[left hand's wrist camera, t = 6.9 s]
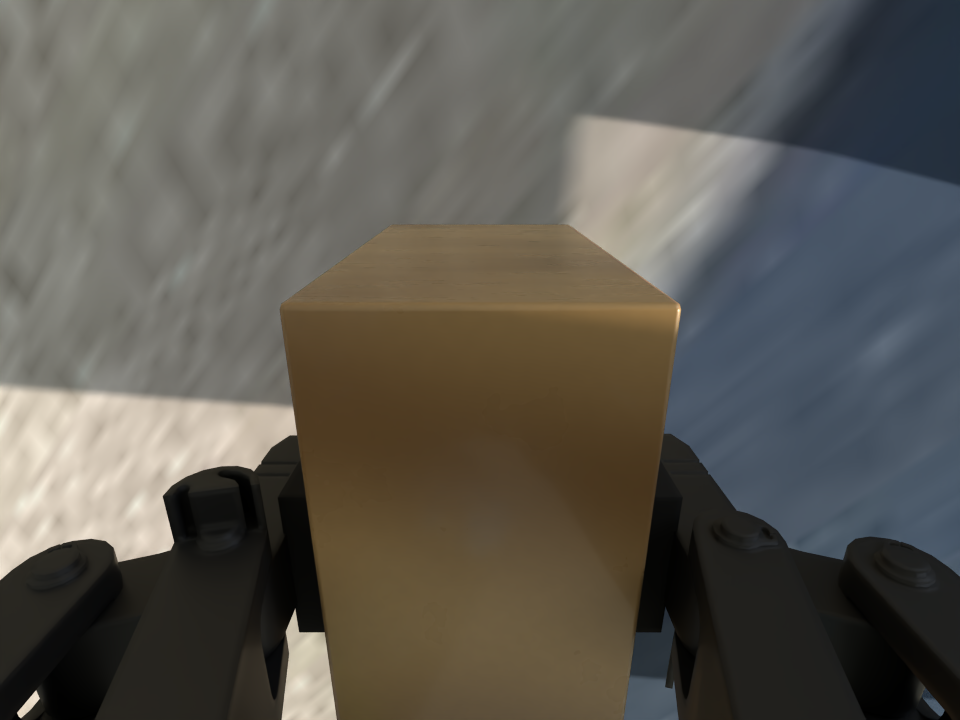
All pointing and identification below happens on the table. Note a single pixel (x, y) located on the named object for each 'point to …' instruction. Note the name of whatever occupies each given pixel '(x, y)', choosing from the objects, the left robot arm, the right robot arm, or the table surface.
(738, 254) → the table surface
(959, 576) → the left robot arm
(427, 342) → the beam
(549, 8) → the table surface
